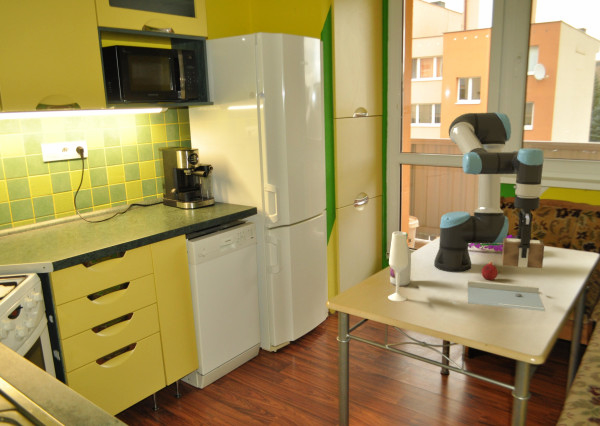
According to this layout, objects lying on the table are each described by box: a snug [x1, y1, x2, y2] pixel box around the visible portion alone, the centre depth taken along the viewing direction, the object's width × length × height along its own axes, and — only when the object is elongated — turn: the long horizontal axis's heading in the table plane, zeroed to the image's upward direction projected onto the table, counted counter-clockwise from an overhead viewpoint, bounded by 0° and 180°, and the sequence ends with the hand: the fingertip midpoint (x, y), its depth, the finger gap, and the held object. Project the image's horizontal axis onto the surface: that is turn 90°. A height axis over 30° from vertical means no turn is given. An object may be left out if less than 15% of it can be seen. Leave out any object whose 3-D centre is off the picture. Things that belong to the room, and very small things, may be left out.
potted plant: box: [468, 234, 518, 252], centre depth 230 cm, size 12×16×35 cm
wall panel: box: [467, 279, 546, 312], centre depth 174 cm, size 24×18×3 cm
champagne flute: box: [387, 231, 408, 302], centre depth 176 cm, size 7×7×24 cm
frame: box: [501, 237, 545, 269], centre depth 166 cm, size 12×6×8 cm, turn 71°
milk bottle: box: [389, 232, 412, 287], centre depth 191 cm, size 8×8×20 cm
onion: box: [481, 261, 499, 281], centre depth 193 cm, size 6×6×8 cm
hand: (521, 263), depth 167 cm, fingers closed on frame, 6 cm apart
